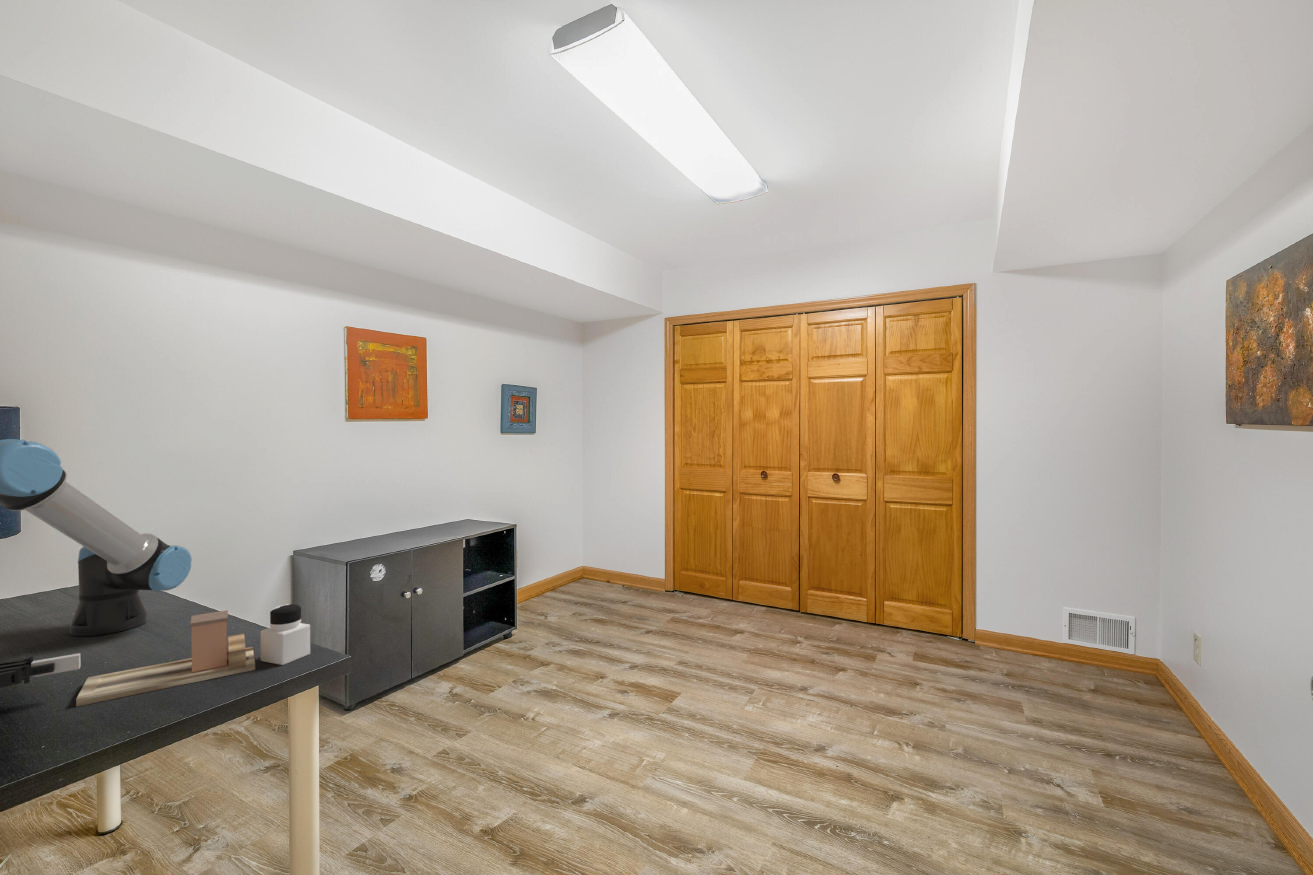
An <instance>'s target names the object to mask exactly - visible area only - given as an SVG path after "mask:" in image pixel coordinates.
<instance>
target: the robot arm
mask: <svg viewBox="0 0 1313 875" xmlns="http://www.w3.org/2000/svg"><path fill="white" fill-rule="evenodd" d="M61 464H62V461H61V459H60V457H59V455H58V454H57V453H56V452H55V451H54V450H53V449H51V447H49V446H46V445H44V444H42V443H39V442H36V441H31V440H25V439H19V438H18V439H16V438H14V439H13V438H7V439H0V506H1V507H4V508H5V509H7V510H8V511H12V512H19V511H26V512H28V513H29V514H31V515H32V516H34V517H36V518H38V520H41V521H42V522H44V523H46V524H47V525H48V526H50V527H52V528H54V529H55V530H57V531H59V532H60V533H61V534H63V535H64V536H66V537H68V538H69V539H71V540H73V541H74V542H76V543H77V544H79V545H81V546H82V547H80V550H79V552H78V560H77V564H78V604H77V607H76V609H75V611H74V614H73V616H72V618H71V621H70V623H69V635H71V636H73V637H90V636H91V637H94V636H99V635H102V636H103V635H107V634H113V633H119V632H123V631H127V630H131V629H135V628H137V627H139V626H142V625H145V623H147V622H148V621H149V620H148V619H149V618H148V617H149V616H148V611H147V608H146V606H145V604H144V602H143V600H142V597H141V595H140V591H153V592H162V591H163V592H164V591H165V592H167V591H170V590H174V589H175V588H177V587H179V586H180V585H181V584H182V583H183V582H184V581H185V580H186V578H187V577H188V576H189V574H190V572H191V568H192V556H191V553H190V551H189V550H188V549H187V548H186V547H183V546H180V545H176V544H175V545H174V544H173V545H169V544H167V543H165V542H164V541H163V540H161V539H160V538H159V537H157V535H155V534H152V533H142V534H141V533H139V532H138V531H137V530H135V529H134V528H132V527H131V526H129V524H127V523H126V522H124V521H122V520H121V519H119V517H117V516H115V515H114V514H113V513H111V512H110V511H108V510H107V509H105V508H104V507H103V506H101V505H100V504H98V503H97V502H95V501H94V500H93V499H91V498H90V497H89V496H87V495H85V494H84V493H83V492H81V491H80V490H79V489H77V488H76V487H74V486H73V485H71V484H70V483H69V482H67V478H68V474H67V472H66V471H65V469H63V467H62V466H61ZM81 664H82V662H81V652H79V653H72V654H67V655H60V656H57V657H51V658H50V657H49V658H43V659H38V660H34V656H29V657H28V658H27V657H26V658H21V659H12V660H6V661H0V689H1V688H2V689H3V688H5V687H11V686H14V685H20V684H21V683H23V682H24V685H26V684H29V683H30V682H31V678H35V677H43V676H48V675H54V674H60V673H65V672H69V671H76V670H80V668H81V667H82V666H81Z"/></svg>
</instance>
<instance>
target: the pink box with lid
mask: <svg viewBox="0 0 1313 875" xmlns="http://www.w3.org/2000/svg"><path fill="white" fill-rule="evenodd" d="M190 618H191V619H190V623H189V624H190V626H189V627H190V628H191V658H192V672H197V671H202V670H207V669H212V668H217V667H222V666H227V651H228V635H227V634H228V633H227V632H228V631H227V630H228V628H227V627H228V626H227V624H228V621H229V610H220V611H214V612H207V613H201V614H196V615H195V614H194V615H191V617H190Z"/></svg>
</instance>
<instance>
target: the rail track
mask: <svg viewBox="0 0 1313 875" xmlns="http://www.w3.org/2000/svg"><path fill="white" fill-rule="evenodd" d="M245 638H246V637H245V633H241V634H233V635H227V666H222V667H217V668H212V669H207V670H202V671H197V672H192V657H190V658H183V659H180V660H174V661H168V662H163V663H157V664H151V665H147V666H141V667H135V668H130V669H125V670H121V671H119V670H118V671H115V672H109V673H104V674H103V673H102V674H98V675H93V676H88V677H87V679H86V680H85V683H84V684H83V686H82V687H81V689H80V691H79V693H78V695H77V697H76V698H75V700H76V701H75V703H76V704H75V707H81V706H86V705H91V704H96V703H100V702H106V701H110V700H115V699H120V698H126V697H129V696H135V695H139V694H144V693H149V692H154V691H159V690H165V689H168V688H173V687H174V688H175V687H178V686H184V685H188V684H192V683H193V684H194V683H198V682H203V681H207V680H211V679H217V678H222V677H226V676H231V675H236V674H241V673H246V672H247V673H248V672H251V671H255V670H256V662H255V654H254V646H249V647H246V639H245Z"/></svg>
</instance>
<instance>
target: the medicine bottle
mask: <svg viewBox="0 0 1313 875" xmlns="http://www.w3.org/2000/svg"><path fill="white" fill-rule="evenodd" d="M269 622H270V624H269V626H270V627H269V628H265V629H261V631H260V661H261V662H264V663H270V664H275V665H280V666H284V665H287V664H290V663H291V662H294V661H296V660H298V659H301V658H303V657H306V656H309V655H310V654H311V624H309V623H308V624H307V623H302V607H301V605H298V604H295V603H290V604H289V603H287V604H283V605H278V606H276V607H274V608H272V609H271V610H270V612H269Z"/></svg>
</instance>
